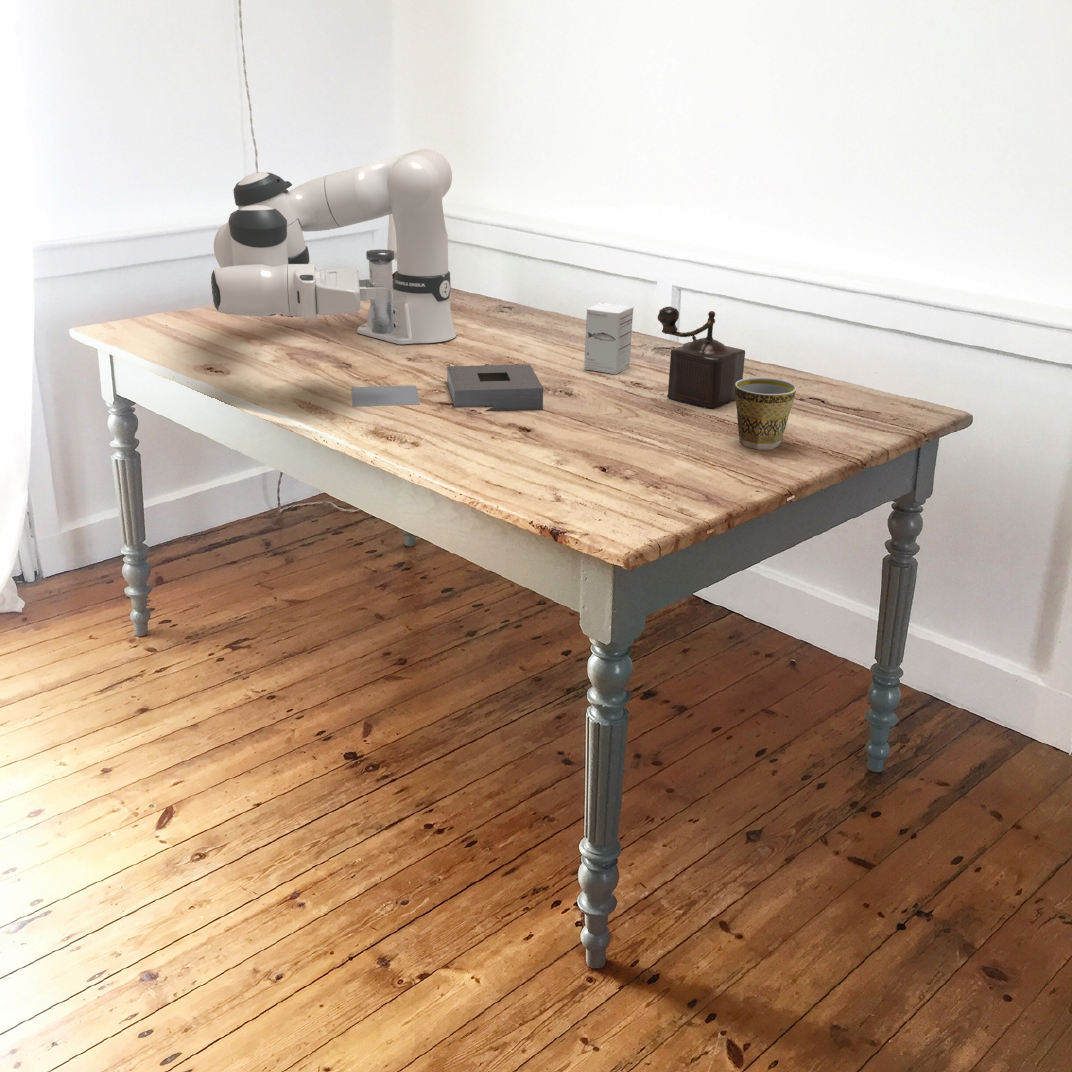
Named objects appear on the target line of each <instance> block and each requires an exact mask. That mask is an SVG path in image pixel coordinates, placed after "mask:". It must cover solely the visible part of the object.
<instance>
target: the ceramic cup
mask: <svg viewBox="0 0 1072 1072" xmlns="http://www.w3.org/2000/svg"><path fill="white" fill-rule="evenodd" d="M796 391H797V386H795V385H794V384H793V383H791V382H789V381H785V380H783V379H778V378H771V377H747V378H743V379H742V380H739V381H737V382H736V383H735V401H734V402H735V406H736V417H737V427H738V428H737V430H738V431H737V432H738V439H739V442H740V443H741V444H742V445H743V447H745V448H749V449H754V450H759V451H761V450H766V451H767V450H775V448H777V447H779V446H780V445H781V442H782V439H783V437H784V433H785V431H786V427H787V423H788V420H789V415H790V413H791V410H792V407H793V404H794V400H795V397H796Z"/></svg>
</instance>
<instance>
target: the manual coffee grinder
mask: <svg viewBox="0 0 1072 1072" xmlns="http://www.w3.org/2000/svg"><path fill="white" fill-rule="evenodd" d="M707 315H708V318H707V321H706V323H705V324H703V325H702V326H701V327H699V328H698V327H697V329H695V330H692V331H688V332H687V331H686V332H680V331H678V327H677V325H676V323H677V321H678V320H679V317H680V312H679V310H678V309H677V308H676V307H673V306H665V307H663V308H661V309H659V312H658V315H657V320H658V322H659V323H660V324H661V325H662V330H661V333H663V334H665V335H671V336H674V337H675V336H676V337H679V338H690V337H691V338H692V341H688V342H686V343H683V345H682V346H680V347H679V346H678V347H675V348H673V349H671V350H670V360H669V374H668V375H669V376H668V387H667V388H668V389H667V395H666V398H669V399H671V400H674V401H677V402H680V403H683V404H686V405H691V406H695V407H698V408H699V407H700V408H704V409H709V410H714V409H719V408H721V407H724V406H726V405H728V404H730V403H733V402H736V401H735V383H736V382H737V381H739V380H742V379H744V378H743V377H744V367H745V357H746V350H745V349H742V348H739V347H737V348H736V347H733V346H728V345H725V344H724V343H723V342H721V341H719V340H716V339H714V337H713V329H714V324H716V319H715V317H716V312H715V311H713V310H710V311H708V314H707ZM706 330H707V334H706V337H701V338H697V337H696V336H697V335H699V334H700V333H702V332H704V331H706ZM732 401H733V402H732Z"/></svg>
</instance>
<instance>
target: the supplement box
mask: <svg viewBox="0 0 1072 1072" xmlns="http://www.w3.org/2000/svg"><path fill="white" fill-rule="evenodd" d="M633 318H634V306H629V305H622V304H615V303H608V302H599V303H596V304H594V305H592V306H590V307H588V308H587V309H586V321H585V342H584V345H585V346H584V363H583V364H584V365H583V369H584V371H592V372H593V371H595V372H600V373H606V374H611V375H614V376H615V375H618V374H620V373H621V372H623V371H625V370H627V369H628V368H630V363H631V351H632V350H631V349H632V347H631V346H632V333H633V320H634V319H633Z"/></svg>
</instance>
